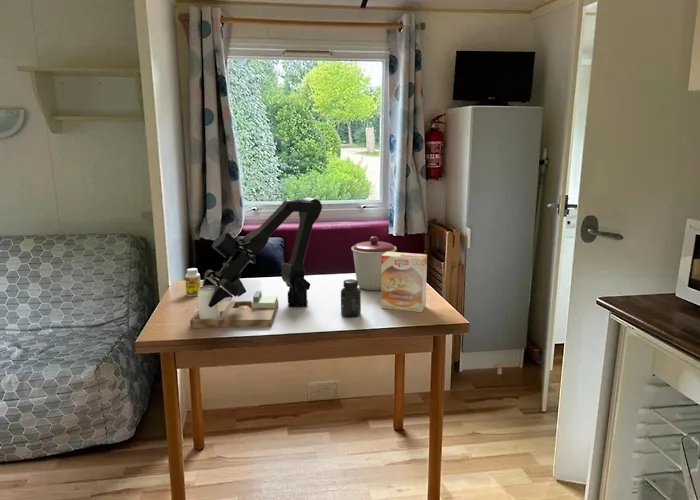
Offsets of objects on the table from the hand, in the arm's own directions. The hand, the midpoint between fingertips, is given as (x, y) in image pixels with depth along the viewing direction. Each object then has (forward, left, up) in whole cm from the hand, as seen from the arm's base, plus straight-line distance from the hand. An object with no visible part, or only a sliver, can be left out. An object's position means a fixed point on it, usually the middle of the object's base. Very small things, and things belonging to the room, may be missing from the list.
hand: (204, 303), depth 172 cm
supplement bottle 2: (-48, -7, -7) cm, 49 cm away
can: (-1, -1, -7) cm, 7 cm away
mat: (+2, -22, -7) cm, 23 cm away
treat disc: (-11, -11, -7) cm, 17 cm away
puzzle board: (-9, -6, -7) cm, 13 cm away
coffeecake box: (-67, -14, -7) cm, 69 cm away
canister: (-58, -40, -7) cm, 71 cm away
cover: (-18, -11, -4) cm, 22 cm away
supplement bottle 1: (+13, -33, -7) cm, 36 cm away
